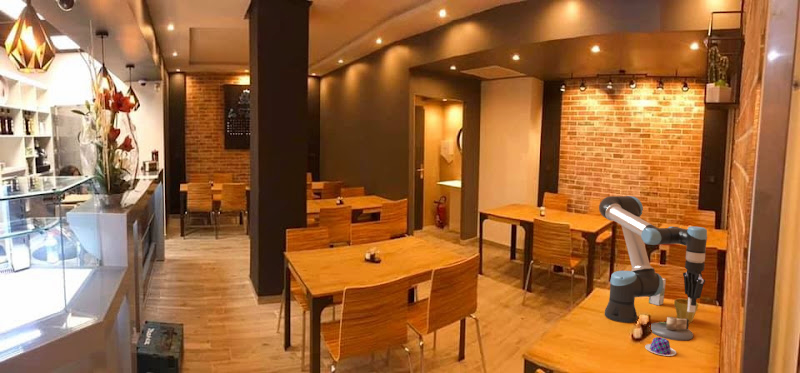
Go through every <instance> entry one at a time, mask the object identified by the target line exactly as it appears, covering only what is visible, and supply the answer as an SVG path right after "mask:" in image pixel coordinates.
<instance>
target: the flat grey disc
mask: <svg viewBox="0 0 800 373" xmlns="http://www.w3.org/2000/svg"><path fill="white" fill-rule="evenodd" d="M666 324H667V321H658V322H651V330H652V332H651V333H652V334H654V335H656V336H657V337H661V338H665V339H667V340H673V341H679V342H680V341H683V342H684V341H690V340H693V338H694V333H693V331H692V330H691V329H690V328H688V329H676V330H669V329H667V328H666Z"/></svg>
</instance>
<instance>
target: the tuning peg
mask: <svg viewBox="0 0 800 373" xmlns="http://www.w3.org/2000/svg"><path fill="white" fill-rule="evenodd" d="M666 322H667V324H666V328H667V329H669V330H676V329H689V325H690V322H689V320H688V319H677V317H673V316H667V317H666Z"/></svg>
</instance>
